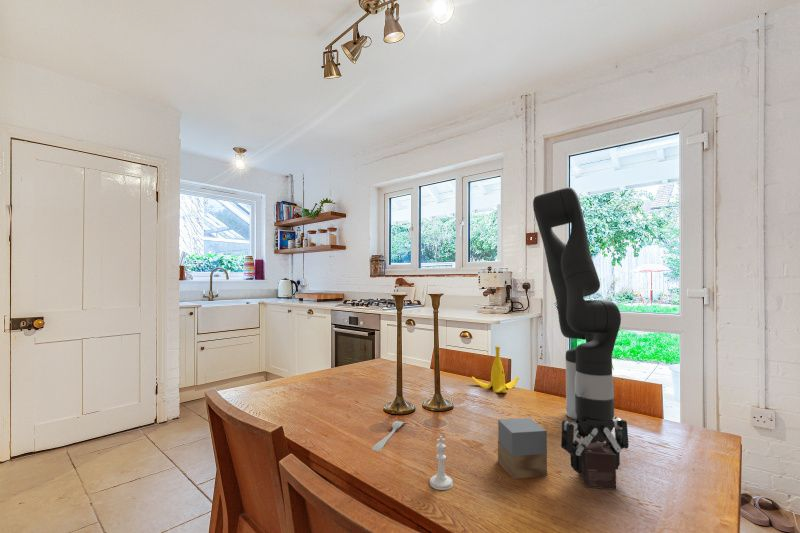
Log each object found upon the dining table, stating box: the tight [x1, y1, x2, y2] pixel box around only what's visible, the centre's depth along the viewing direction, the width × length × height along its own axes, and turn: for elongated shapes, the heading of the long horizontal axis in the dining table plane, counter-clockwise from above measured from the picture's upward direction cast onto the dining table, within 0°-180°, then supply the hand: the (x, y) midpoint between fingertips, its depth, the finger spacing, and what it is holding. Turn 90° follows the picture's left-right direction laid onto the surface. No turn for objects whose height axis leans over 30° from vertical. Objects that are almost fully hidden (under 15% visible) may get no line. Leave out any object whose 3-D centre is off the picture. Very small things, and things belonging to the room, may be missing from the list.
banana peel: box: [471, 345, 520, 394], centre depth 153 cm, size 16×19×17 cm
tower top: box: [497, 417, 548, 456], centre depth 89 cm, size 8×8×5 cm
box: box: [578, 441, 617, 490], centre depth 83 cm, size 6×6×7 cm
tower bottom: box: [497, 440, 548, 480], centre depth 89 cm, size 8×8×5 cm
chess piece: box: [429, 435, 454, 491], centre depth 83 cm, size 5×5×10 cm
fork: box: [371, 420, 407, 452], centre depth 108 cm, size 3×21×3 cm, turn 158°
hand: (595, 469), depth 83 cm, fingers open, 8 cm apart
